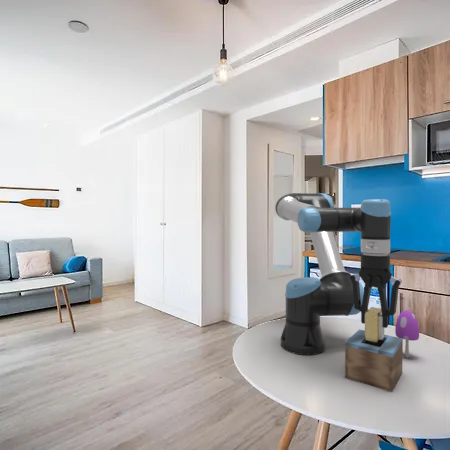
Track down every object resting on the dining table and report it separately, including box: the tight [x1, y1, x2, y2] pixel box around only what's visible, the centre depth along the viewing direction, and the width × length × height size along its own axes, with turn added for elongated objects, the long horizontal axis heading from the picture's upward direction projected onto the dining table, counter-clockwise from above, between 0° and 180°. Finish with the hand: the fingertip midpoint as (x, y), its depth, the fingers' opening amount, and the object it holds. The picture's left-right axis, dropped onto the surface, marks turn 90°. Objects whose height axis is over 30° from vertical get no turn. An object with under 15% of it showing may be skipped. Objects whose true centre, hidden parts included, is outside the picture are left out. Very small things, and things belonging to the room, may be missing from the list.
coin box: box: [344, 329, 404, 392], centre depth 92 cm, size 12×13×10 cm
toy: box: [394, 309, 420, 358], centre depth 103 cm, size 7×7×15 cm
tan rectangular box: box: [366, 306, 382, 343], centre depth 91 cm, size 3×6×8 cm, turn 141°
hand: (374, 336), depth 91 cm, fingers open, 3 cm apart
